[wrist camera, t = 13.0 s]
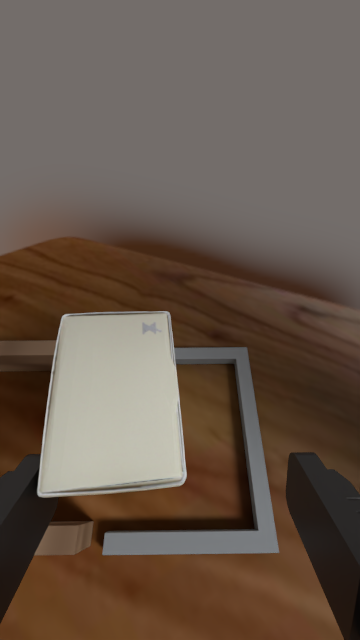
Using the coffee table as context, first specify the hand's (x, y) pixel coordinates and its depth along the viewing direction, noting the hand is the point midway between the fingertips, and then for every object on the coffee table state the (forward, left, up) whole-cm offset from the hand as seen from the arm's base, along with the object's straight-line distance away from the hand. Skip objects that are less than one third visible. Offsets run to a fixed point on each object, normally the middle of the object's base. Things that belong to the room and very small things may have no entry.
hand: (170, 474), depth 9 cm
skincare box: (+3, -3, -11) cm, 11 cm away
